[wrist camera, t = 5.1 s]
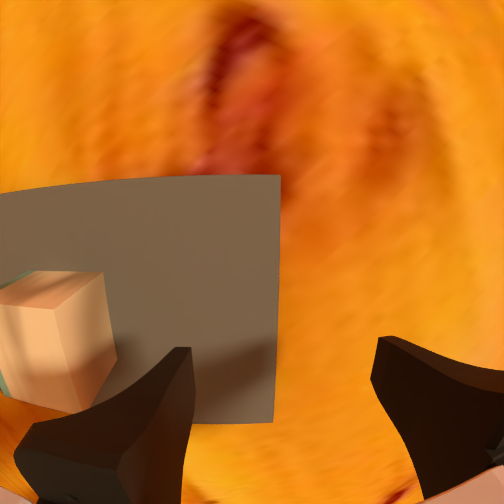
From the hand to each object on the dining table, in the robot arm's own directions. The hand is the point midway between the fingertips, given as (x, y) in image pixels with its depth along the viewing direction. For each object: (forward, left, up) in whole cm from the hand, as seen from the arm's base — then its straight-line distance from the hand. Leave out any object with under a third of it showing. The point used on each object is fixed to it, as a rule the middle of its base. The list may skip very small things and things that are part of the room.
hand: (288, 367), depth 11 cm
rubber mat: (-10, +4, -5) cm, 12 cm away
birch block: (-8, +3, -2) cm, 9 cm away
